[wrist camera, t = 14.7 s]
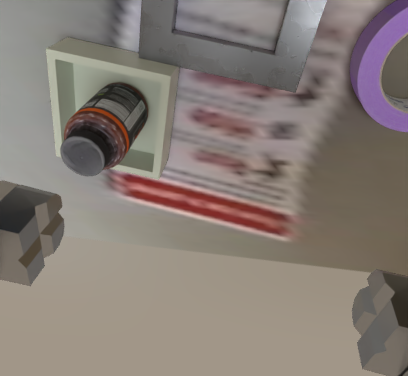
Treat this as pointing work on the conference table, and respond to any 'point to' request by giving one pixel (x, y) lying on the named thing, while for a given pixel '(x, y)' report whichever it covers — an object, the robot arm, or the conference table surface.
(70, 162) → the supplement bottle
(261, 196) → the conference table surface
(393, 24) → the masking tape
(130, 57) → the tray
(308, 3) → the socket frame
